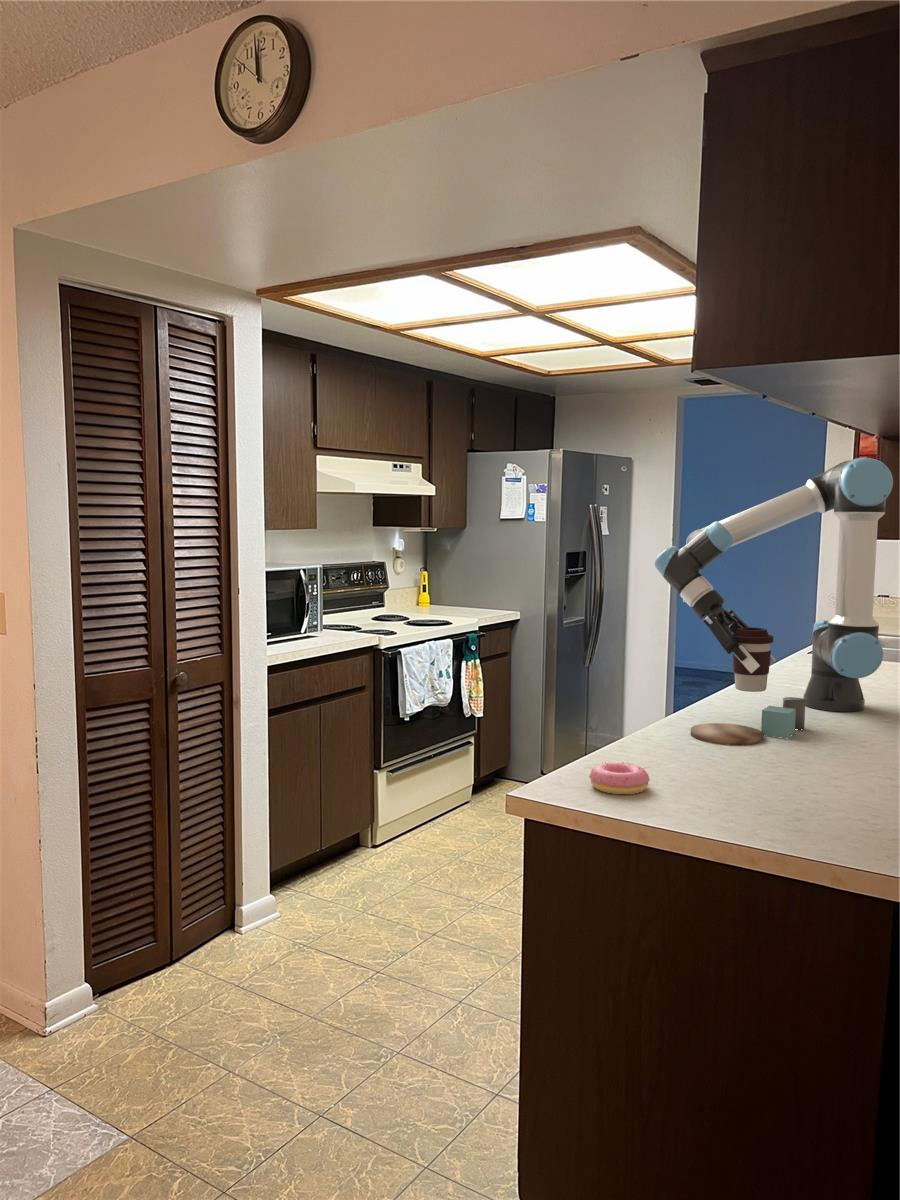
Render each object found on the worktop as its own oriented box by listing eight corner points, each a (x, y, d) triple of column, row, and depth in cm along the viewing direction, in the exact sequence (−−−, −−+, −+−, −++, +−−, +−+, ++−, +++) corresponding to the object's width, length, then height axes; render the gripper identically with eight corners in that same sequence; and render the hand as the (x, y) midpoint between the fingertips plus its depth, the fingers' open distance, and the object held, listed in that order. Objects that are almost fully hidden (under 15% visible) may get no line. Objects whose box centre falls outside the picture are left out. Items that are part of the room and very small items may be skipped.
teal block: (768, 730, 214) (769, 705, 213) (794, 734, 210) (795, 709, 210) (761, 735, 209) (762, 710, 208) (787, 739, 206) (788, 713, 205)
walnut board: (739, 726, 217) (739, 721, 217) (777, 743, 202) (777, 737, 202) (678, 729, 214) (678, 724, 214) (712, 746, 198) (712, 741, 198)
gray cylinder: (796, 725, 219) (797, 696, 219) (808, 729, 215) (809, 700, 214) (777, 726, 218) (778, 697, 218) (789, 730, 214) (791, 701, 213)
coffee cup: (725, 691, 220) (727, 630, 218) (733, 684, 228) (734, 625, 227) (768, 694, 215) (770, 632, 214) (774, 687, 224) (776, 627, 222)
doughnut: (661, 789, 167) (661, 767, 167) (625, 801, 160) (626, 778, 160) (613, 776, 175) (613, 755, 175) (576, 787, 168) (577, 765, 167)
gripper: (710, 605, 238) (769, 670, 230) (672, 612, 221) (734, 683, 212) (730, 585, 234) (790, 651, 226) (693, 591, 217) (757, 662, 209)
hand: (763, 666), depth 219 cm, fingers closed on coffee cup, 10 cm apart
